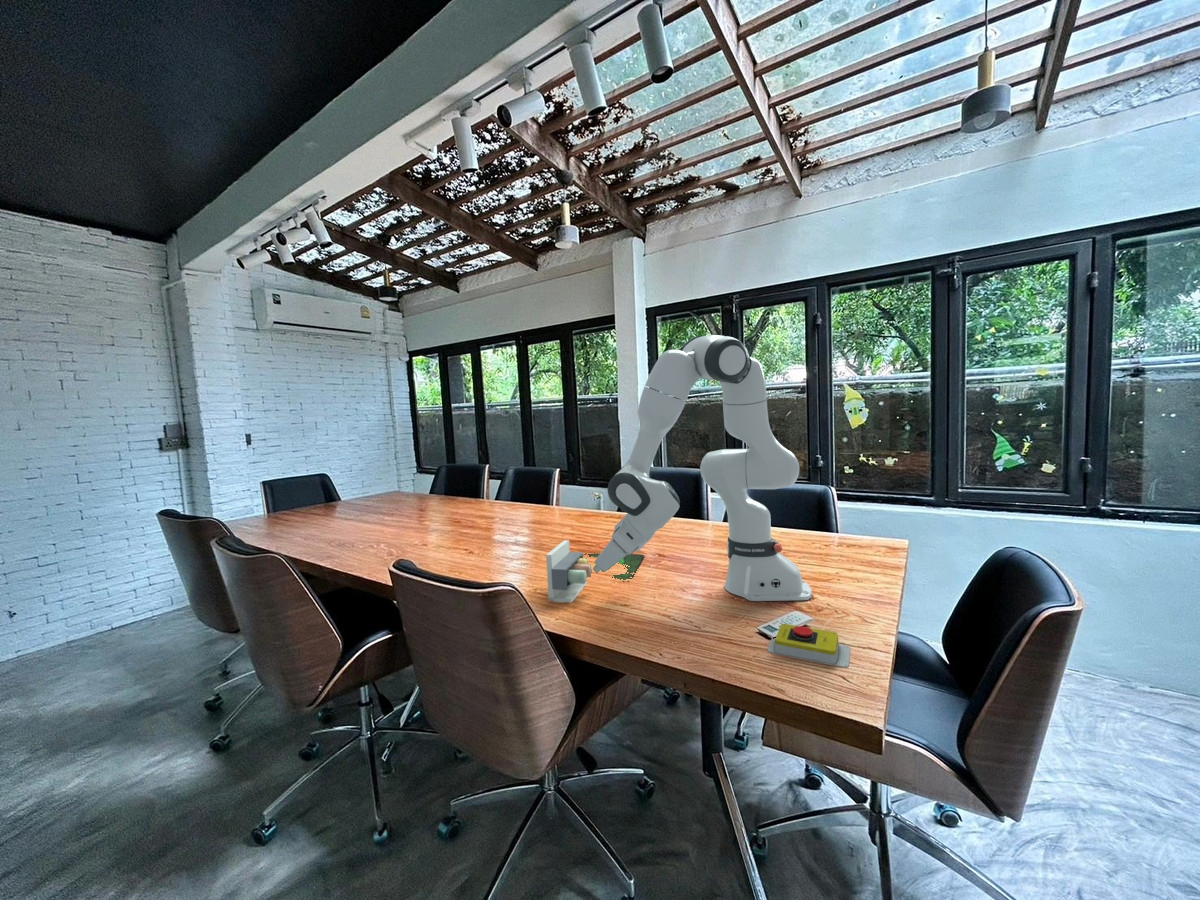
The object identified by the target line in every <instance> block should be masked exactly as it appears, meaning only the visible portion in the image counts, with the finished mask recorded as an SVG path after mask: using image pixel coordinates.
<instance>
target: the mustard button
mask: <svg viewBox="0 0 1200 900" xmlns="http://www.w3.org/2000/svg"><path fill="white" fill-rule="evenodd" d="M578 564H588V561H587V558H579V559H578Z"/></svg>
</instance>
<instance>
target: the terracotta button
mask: <svg viewBox="0 0 1200 900" xmlns="http://www.w3.org/2000/svg"><path fill="white" fill-rule="evenodd" d="M572 569H573V570H586V574H587V577H591V573H592V567H591V564H573V565H572Z"/></svg>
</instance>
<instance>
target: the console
mask: <svg viewBox="0 0 1200 900" xmlns="http://www.w3.org/2000/svg"><path fill="white" fill-rule="evenodd" d="M545 555H546V556H545V561H546V576H547V577H546V578H547V580H546V581H547V593H548V595H547V597H548V602H549V601H553V602H552V603H564V602H569V603H568V604H572V603H573V601H575V599H576V598H577V596H578V595H579V594H580V593H581V592H582V590H583V589H584V588H585V587H584V586H586V585H587V584H588V581H587V580H586V583H585V584H576V583H567V575H566V571H567V570H568V569H569V570H573V569H572V565H573V564H578V559H579V558H583V556H584V552H583V551H581V552H579V551H570V540H569V539H564V540H563V541H562V542H560V543H559V544H558V545H556V546H555V547H554V548H553V549H552V550H550V551H549V552H548V553H547V554H545ZM583 587H584V588H583ZM571 602H572V603H571Z"/></svg>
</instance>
